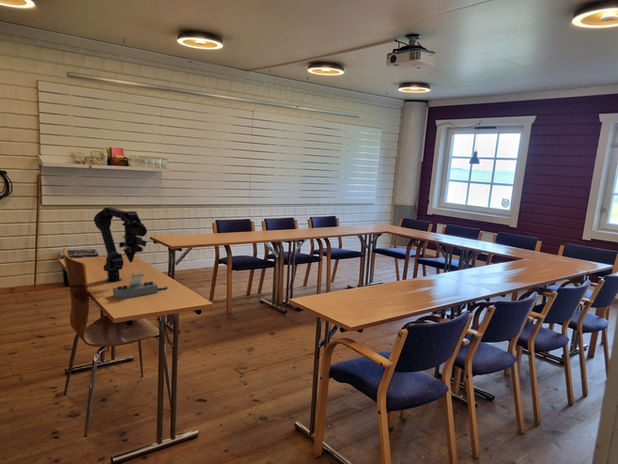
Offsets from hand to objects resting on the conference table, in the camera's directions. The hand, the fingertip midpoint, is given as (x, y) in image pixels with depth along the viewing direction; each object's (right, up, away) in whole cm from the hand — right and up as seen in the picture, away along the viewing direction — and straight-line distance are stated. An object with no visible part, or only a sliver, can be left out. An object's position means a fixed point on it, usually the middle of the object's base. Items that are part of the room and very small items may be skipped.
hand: (131, 262), depth 238 cm
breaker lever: (+8, -10, -14) cm, 19 cm away
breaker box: (+11, -15, -12) cm, 22 cm away
